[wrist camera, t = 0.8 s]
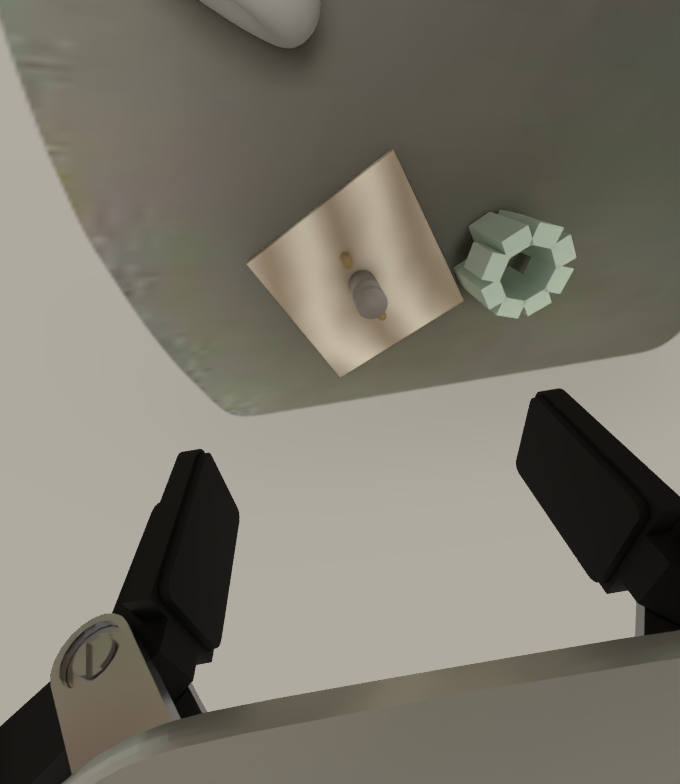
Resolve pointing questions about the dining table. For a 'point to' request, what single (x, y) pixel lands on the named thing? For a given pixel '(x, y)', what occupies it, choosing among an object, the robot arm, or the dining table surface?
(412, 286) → the post base
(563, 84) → the dining table surface
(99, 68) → the dining table surface
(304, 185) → the dining table surface
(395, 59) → the dining table surface
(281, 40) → the donut
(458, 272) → the collar
